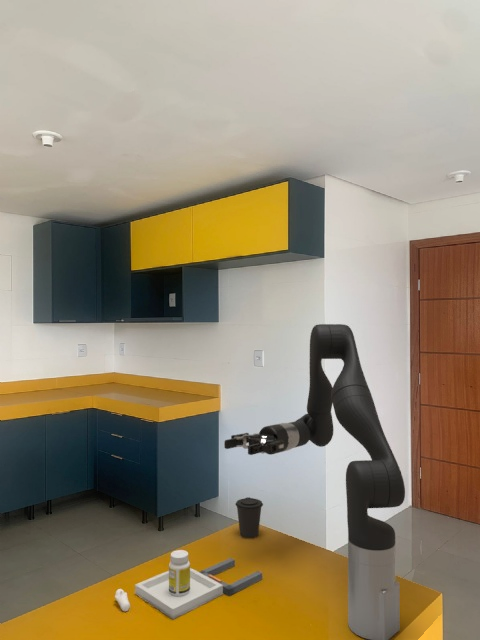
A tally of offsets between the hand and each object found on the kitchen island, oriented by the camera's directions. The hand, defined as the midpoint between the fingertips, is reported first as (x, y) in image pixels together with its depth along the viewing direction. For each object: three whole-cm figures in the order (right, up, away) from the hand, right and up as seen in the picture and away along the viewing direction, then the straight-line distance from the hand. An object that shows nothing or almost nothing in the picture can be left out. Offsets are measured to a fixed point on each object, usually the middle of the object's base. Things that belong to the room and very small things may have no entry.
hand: (236, 447), depth 127 cm
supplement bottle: (-13, -29, -13) cm, 35 cm away
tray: (-13, -30, -13) cm, 35 cm away
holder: (-2, -30, -6) cm, 31 cm away
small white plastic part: (-25, -30, -18) cm, 43 cm away
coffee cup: (+3, -31, +20) cm, 37 cm away
